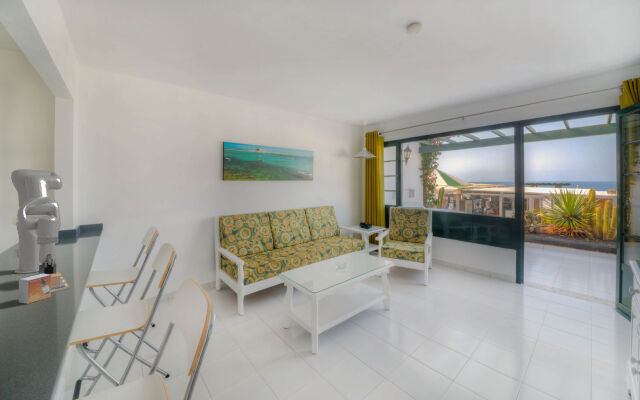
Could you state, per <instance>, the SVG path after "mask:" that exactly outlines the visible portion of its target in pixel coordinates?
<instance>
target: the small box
mask: <svg viewBox="0 0 640 400" xmlns="http://www.w3.org/2000/svg"><path fill="white" fill-rule="evenodd" d="M30 276H31V277H30ZM30 276H27V277H23V278H19V279H18V303H20V304H25V305H29V304H32V303H35V302H38V301H42V300H44V299H48V298H51V297H52V296H51V295H52V294H51V293H52V292H51V275H49V274H39V273H38V274H36V275H30Z"/></svg>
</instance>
